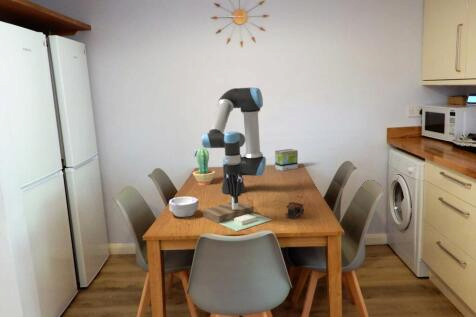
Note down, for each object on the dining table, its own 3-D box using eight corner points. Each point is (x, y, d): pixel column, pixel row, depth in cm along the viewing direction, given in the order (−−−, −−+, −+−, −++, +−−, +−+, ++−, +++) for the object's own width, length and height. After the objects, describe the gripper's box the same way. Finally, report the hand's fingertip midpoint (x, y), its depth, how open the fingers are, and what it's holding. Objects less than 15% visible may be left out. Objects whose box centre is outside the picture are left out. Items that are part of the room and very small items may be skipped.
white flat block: (256, 216, 195) (256, 220, 195) (248, 214, 199) (248, 217, 200) (241, 221, 189) (241, 225, 190) (234, 218, 194) (234, 222, 194)
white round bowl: (204, 213, 210) (203, 199, 208) (181, 221, 200) (180, 206, 198) (187, 208, 221) (186, 194, 219) (164, 215, 211) (163, 200, 209)
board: (237, 207, 218) (237, 200, 217) (253, 213, 207) (253, 206, 206) (203, 217, 205) (203, 209, 204) (219, 223, 194) (218, 216, 193)
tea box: (282, 171, 303) (281, 152, 300) (274, 169, 312) (274, 150, 309) (298, 168, 310) (297, 149, 307) (290, 166, 319) (290, 148, 316)
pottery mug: (280, 217, 202) (283, 201, 204) (294, 221, 206) (297, 206, 208) (295, 217, 192) (298, 200, 194) (310, 222, 196) (313, 206, 198)
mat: (253, 213, 207) (253, 213, 207) (271, 220, 196) (271, 219, 196) (219, 223, 194) (219, 223, 194) (236, 231, 183) (236, 230, 183)
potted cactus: (209, 179, 285) (207, 145, 281) (219, 183, 272) (217, 147, 268) (189, 183, 277) (187, 147, 273) (199, 187, 264) (197, 150, 260)
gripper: (219, 162, 199) (221, 207, 204) (235, 166, 189) (237, 213, 194) (231, 160, 204) (233, 204, 208) (247, 163, 194) (248, 209, 198)
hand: (235, 208), depth 201 cm, fingers closed
